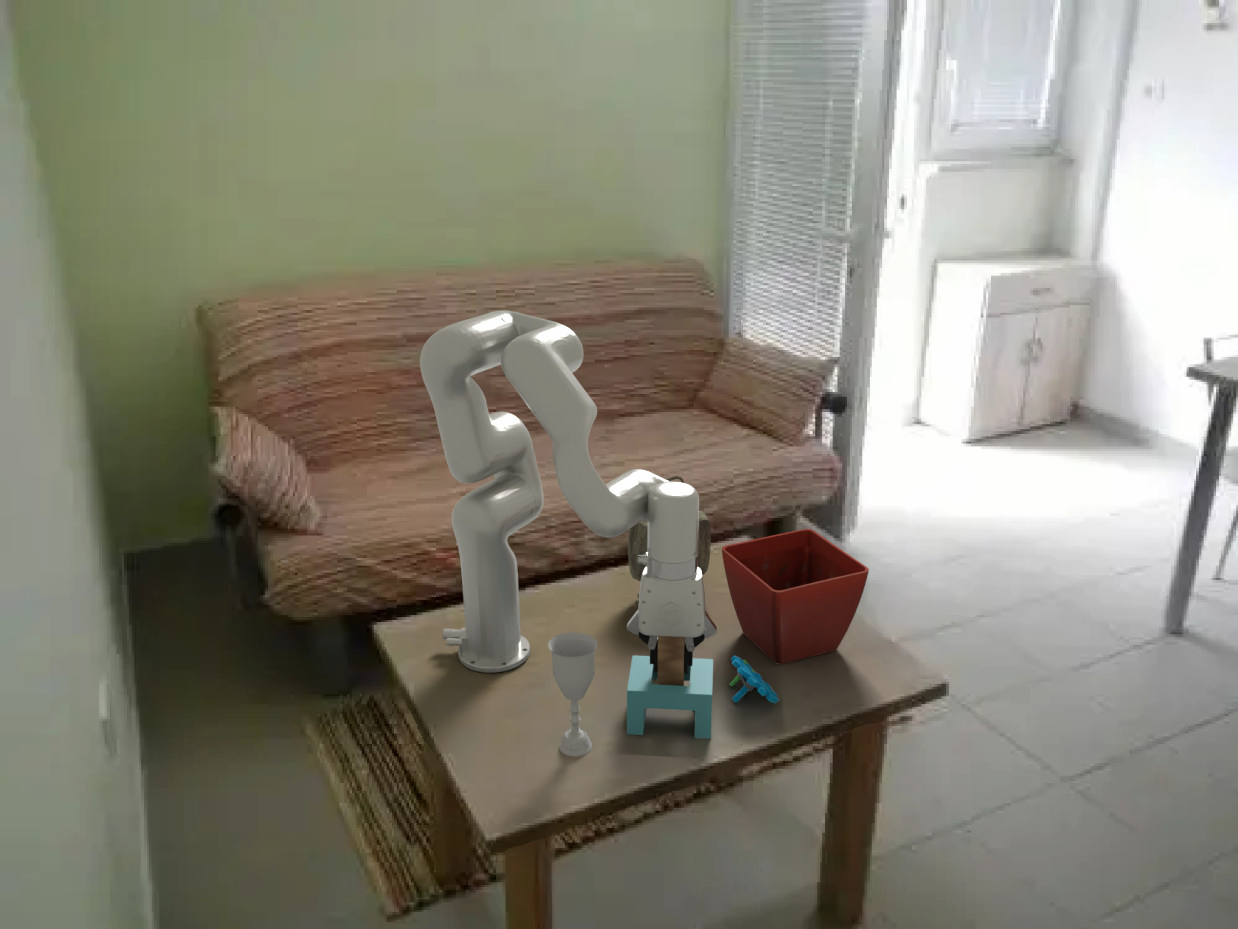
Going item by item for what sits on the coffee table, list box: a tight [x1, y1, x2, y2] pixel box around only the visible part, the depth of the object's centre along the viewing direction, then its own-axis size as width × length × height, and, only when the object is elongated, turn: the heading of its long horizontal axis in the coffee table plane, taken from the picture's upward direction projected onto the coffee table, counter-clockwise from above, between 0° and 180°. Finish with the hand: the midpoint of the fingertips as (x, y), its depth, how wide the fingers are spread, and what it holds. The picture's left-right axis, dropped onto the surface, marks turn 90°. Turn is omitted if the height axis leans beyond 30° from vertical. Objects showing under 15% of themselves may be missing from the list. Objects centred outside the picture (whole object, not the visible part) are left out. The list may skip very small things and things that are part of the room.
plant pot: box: [721, 528, 870, 665], centre depth 183 cm, size 19×19×17 cm
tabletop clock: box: [627, 475, 712, 600], centre depth 198 cm, size 14×9×25 cm, turn 133°
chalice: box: [547, 631, 599, 757], centre depth 155 cm, size 7×7×18 cm
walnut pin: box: [657, 636, 685, 686], centre depth 161 cm, size 4×4×12 cm
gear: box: [729, 655, 780, 704], centre depth 169 cm, size 11×6×10 cm
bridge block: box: [626, 654, 714, 739], centre depth 163 cm, size 13×10×8 cm
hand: (671, 667), depth 161 cm, fingers closed on walnut pin, 3 cm apart
